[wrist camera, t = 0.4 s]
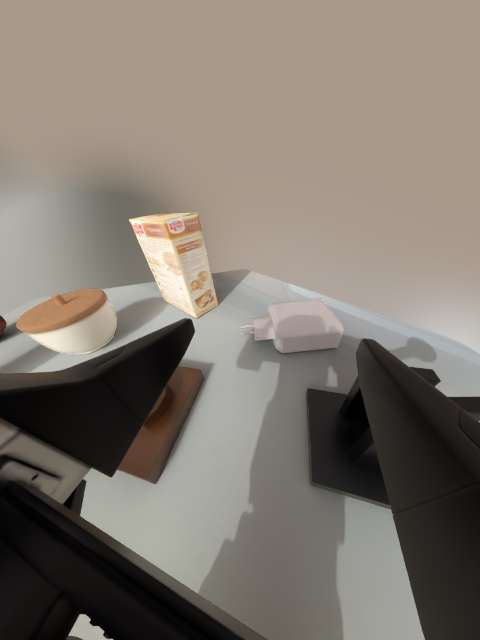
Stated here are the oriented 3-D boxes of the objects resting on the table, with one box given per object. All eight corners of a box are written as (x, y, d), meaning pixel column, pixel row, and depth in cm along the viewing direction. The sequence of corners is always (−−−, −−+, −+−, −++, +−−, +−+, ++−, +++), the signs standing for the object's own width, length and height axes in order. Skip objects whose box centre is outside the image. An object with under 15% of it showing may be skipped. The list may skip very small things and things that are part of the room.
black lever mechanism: (408, 410, 19) (470, 354, 13) (467, 532, 13) (644, 529, 7) (306, 392, 22) (319, 339, 16) (310, 484, 16) (335, 452, 10)
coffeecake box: (219, 304, 42) (199, 211, 30) (196, 319, 38) (162, 219, 26) (185, 289, 50) (159, 212, 38) (163, 300, 46) (126, 218, 34)
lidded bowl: (52, 378, 29) (-15, 330, 22) (64, 338, 38) (19, 295, 31) (131, 344, 34) (96, 295, 27) (125, 315, 43) (98, 273, 36)
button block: (155, 484, 17) (136, 475, 14) (82, 456, 19) (55, 444, 17) (204, 378, 26) (197, 361, 23) (150, 368, 28) (138, 352, 26)
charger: (241, 324, 35) (315, 316, 34) (244, 360, 28) (337, 350, 27) (238, 305, 32) (319, 295, 32) (241, 339, 25) (345, 328, 24)
